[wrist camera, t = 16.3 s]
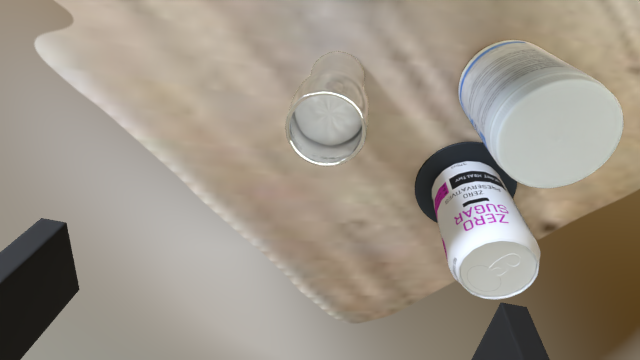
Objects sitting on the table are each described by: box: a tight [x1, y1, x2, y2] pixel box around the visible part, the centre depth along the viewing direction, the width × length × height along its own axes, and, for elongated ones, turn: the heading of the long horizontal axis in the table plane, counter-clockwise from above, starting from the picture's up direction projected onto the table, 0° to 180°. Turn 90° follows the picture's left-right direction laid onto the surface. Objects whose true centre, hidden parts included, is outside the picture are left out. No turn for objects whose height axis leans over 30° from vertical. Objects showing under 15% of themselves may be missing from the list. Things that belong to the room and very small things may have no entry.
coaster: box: [415, 142, 517, 223], centre depth 51 cm, size 12×12×1 cm
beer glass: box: [285, 51, 369, 167], centre depth 40 cm, size 7×7×15 cm
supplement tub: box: [458, 40, 623, 188], centre depth 38 cm, size 10×10×15 cm
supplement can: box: [432, 161, 540, 300], centre depth 45 cm, size 8×8×15 cm
